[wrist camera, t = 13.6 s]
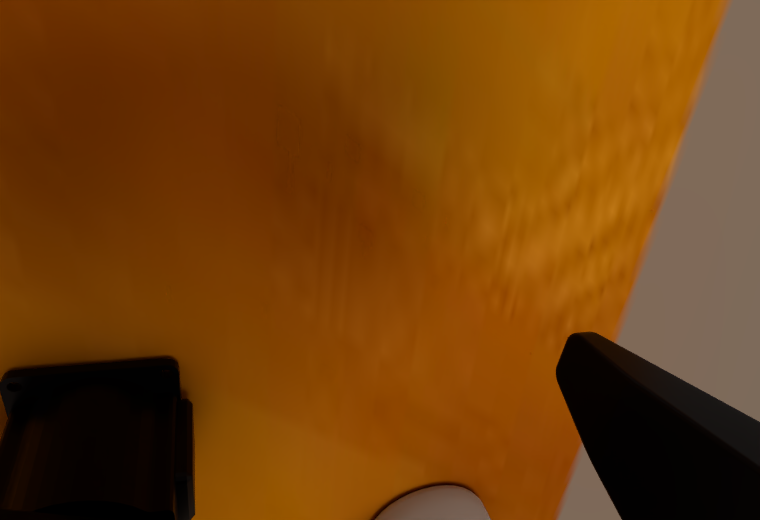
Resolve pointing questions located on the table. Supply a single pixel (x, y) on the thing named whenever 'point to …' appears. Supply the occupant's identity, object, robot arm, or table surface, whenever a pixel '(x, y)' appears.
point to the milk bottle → (437, 505)
